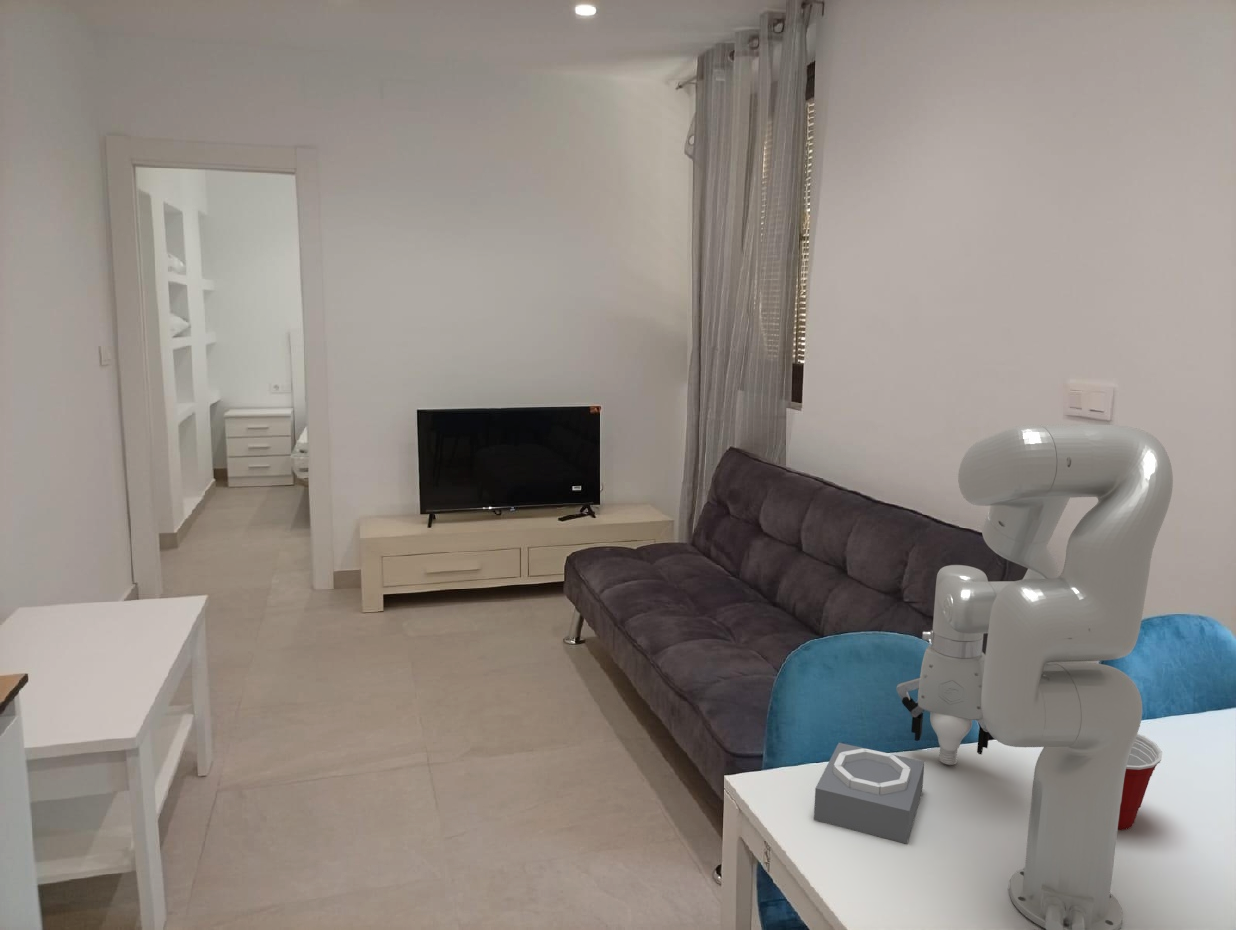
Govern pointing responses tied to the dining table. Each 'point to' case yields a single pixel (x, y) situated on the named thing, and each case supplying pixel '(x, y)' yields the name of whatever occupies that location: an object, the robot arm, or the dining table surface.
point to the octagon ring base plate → (870, 792)
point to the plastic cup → (1137, 778)
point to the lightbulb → (949, 735)
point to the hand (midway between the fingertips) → (948, 743)
